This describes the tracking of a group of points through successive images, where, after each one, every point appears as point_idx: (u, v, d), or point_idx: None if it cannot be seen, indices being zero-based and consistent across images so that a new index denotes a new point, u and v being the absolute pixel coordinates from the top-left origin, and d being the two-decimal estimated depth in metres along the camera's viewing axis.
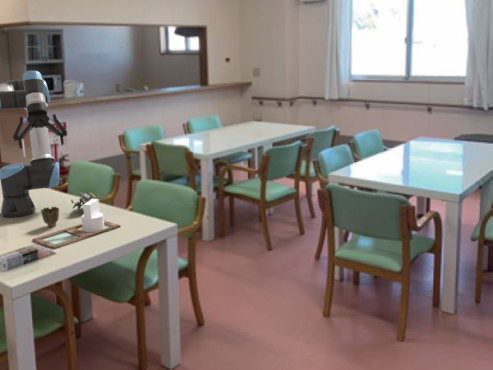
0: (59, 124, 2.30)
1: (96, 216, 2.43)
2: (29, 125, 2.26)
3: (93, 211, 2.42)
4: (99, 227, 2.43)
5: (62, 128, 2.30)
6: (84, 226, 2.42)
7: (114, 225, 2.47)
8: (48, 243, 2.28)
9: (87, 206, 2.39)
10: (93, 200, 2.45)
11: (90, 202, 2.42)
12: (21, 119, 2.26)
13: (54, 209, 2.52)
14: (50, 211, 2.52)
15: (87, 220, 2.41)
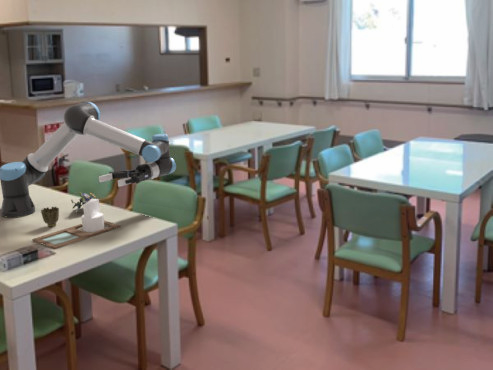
0: None
1: (96, 216, 2.43)
2: None
3: (93, 211, 2.42)
4: (99, 227, 2.43)
5: None
6: (84, 226, 2.42)
7: (114, 225, 2.47)
8: (48, 243, 2.28)
9: (87, 206, 2.39)
10: (93, 200, 2.45)
11: (90, 202, 2.42)
12: None
13: (54, 209, 2.52)
14: (50, 211, 2.52)
15: (87, 220, 2.41)
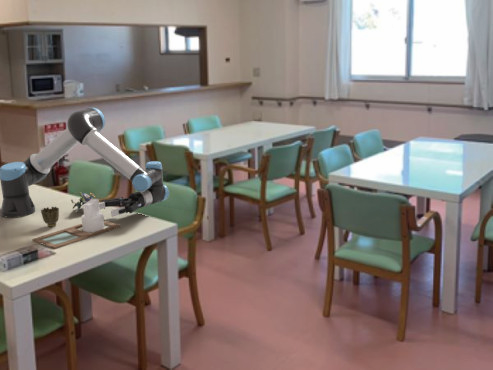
0: None
1: (96, 216, 2.43)
2: None
3: (93, 211, 2.42)
4: (99, 227, 2.43)
5: None
6: (84, 226, 2.42)
7: (114, 225, 2.47)
8: (48, 243, 2.28)
9: (87, 206, 2.39)
10: (93, 200, 2.45)
11: (90, 202, 2.42)
12: None
13: (54, 209, 2.52)
14: (50, 211, 2.52)
15: (87, 220, 2.41)
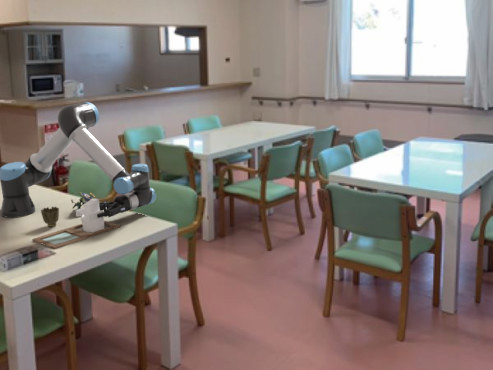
0: None
1: None
2: None
3: (93, 210, 2.42)
4: (99, 227, 2.43)
5: None
6: (84, 226, 2.42)
7: (114, 225, 2.47)
8: (48, 243, 2.28)
9: (87, 206, 2.39)
10: (93, 200, 2.45)
11: (90, 202, 2.42)
12: None
13: (54, 209, 2.52)
14: (50, 211, 2.52)
15: (87, 220, 2.41)
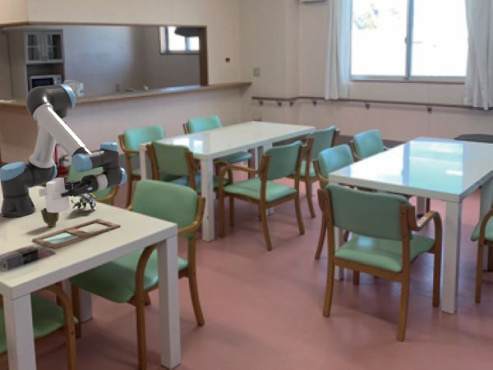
0: None
1: None
2: None
3: (57, 190, 2.27)
4: (63, 207, 2.28)
5: None
6: (48, 206, 2.27)
7: (114, 225, 2.47)
8: (48, 243, 2.28)
9: (50, 185, 2.24)
10: (57, 179, 2.30)
11: (54, 181, 2.27)
12: None
13: None
14: None
15: (51, 200, 2.26)
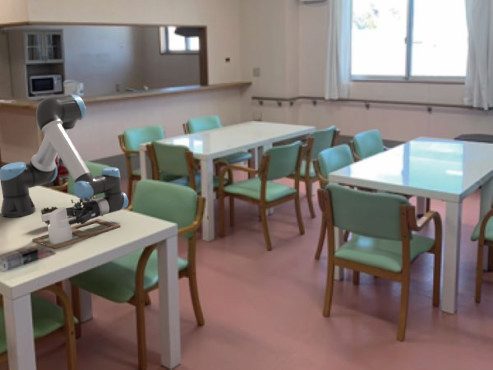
0: None
1: None
2: None
3: (59, 220, 2.30)
4: (66, 237, 2.31)
5: None
6: (50, 236, 2.30)
7: (114, 225, 2.47)
8: (48, 243, 2.28)
9: (53, 215, 2.27)
10: (60, 209, 2.33)
11: (56, 211, 2.30)
12: None
13: (54, 209, 2.52)
14: (50, 211, 2.52)
15: (53, 230, 2.29)
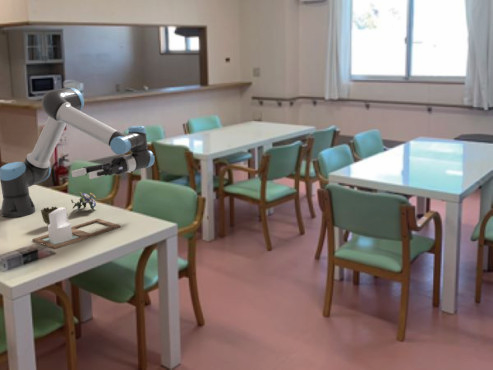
0: None
1: (63, 226, 2.31)
2: None
3: (59, 220, 2.30)
4: (66, 237, 2.31)
5: None
6: (50, 236, 2.30)
7: (114, 225, 2.47)
8: (48, 243, 2.28)
9: (53, 215, 2.27)
10: (60, 209, 2.33)
11: (56, 211, 2.30)
12: (120, 170, 2.45)
13: (54, 209, 2.52)
14: (50, 211, 2.52)
15: (53, 230, 2.29)
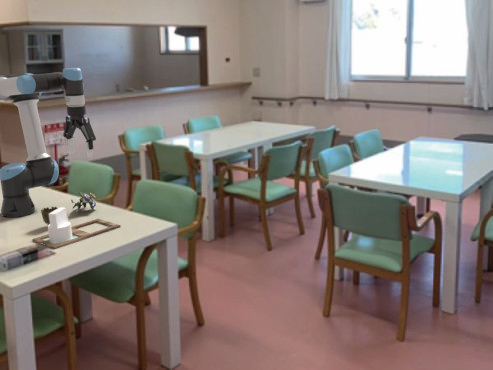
0: (86, 130, 2.37)
1: (63, 226, 2.31)
2: (70, 127, 2.44)
3: (59, 220, 2.30)
4: (66, 237, 2.31)
5: (88, 135, 2.37)
6: (50, 236, 2.30)
7: (114, 225, 2.47)
8: (48, 243, 2.28)
9: (53, 215, 2.27)
10: (60, 209, 2.33)
11: (56, 211, 2.30)
12: (66, 119, 2.45)
13: (54, 209, 2.52)
14: (50, 211, 2.52)
15: (53, 230, 2.29)
